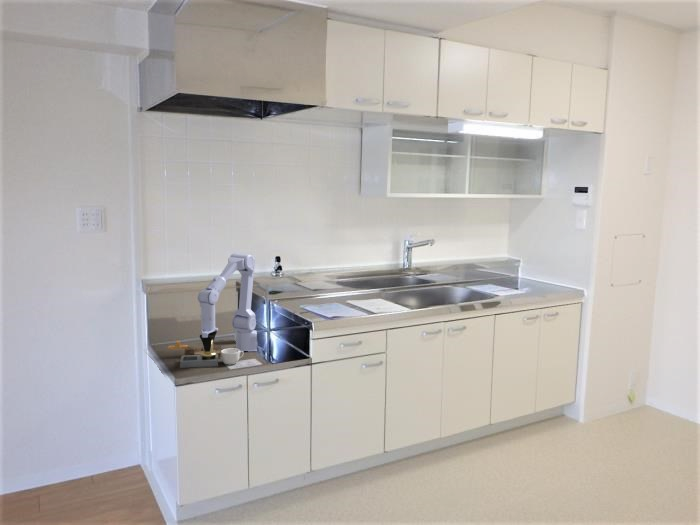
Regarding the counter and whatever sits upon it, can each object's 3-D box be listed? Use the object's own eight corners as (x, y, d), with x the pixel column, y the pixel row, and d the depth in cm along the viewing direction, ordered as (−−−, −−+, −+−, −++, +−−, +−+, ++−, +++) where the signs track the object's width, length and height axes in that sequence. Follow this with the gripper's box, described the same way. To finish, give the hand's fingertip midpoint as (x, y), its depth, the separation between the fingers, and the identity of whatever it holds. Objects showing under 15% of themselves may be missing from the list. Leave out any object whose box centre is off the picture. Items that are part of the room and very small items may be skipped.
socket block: (220, 351, 259) (220, 343, 258) (220, 358, 248) (220, 350, 248) (186, 352, 256) (185, 344, 255) (184, 360, 245) (184, 352, 245)
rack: (218, 359, 247) (218, 354, 247) (217, 366, 239) (217, 360, 238) (181, 361, 244) (181, 355, 243) (180, 367, 236) (180, 361, 235)
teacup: (225, 367, 238) (225, 354, 237) (217, 362, 244) (217, 349, 243) (247, 363, 244) (247, 350, 243) (239, 358, 250) (239, 346, 249)
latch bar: (187, 347, 251) (187, 340, 251) (187, 348, 249) (187, 341, 249) (168, 347, 250) (168, 341, 249) (168, 349, 247) (168, 342, 247)
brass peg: (213, 356, 247) (212, 336, 245) (219, 361, 241) (219, 340, 240) (197, 359, 243) (196, 338, 241) (203, 364, 237) (203, 342, 236)
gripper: (214, 322, 232) (214, 355, 234) (221, 314, 247) (221, 345, 249) (196, 322, 232) (197, 354, 234) (204, 314, 246) (205, 344, 248)
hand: (208, 349), depth 241 cm, fingers closed on brass peg, 4 cm apart
